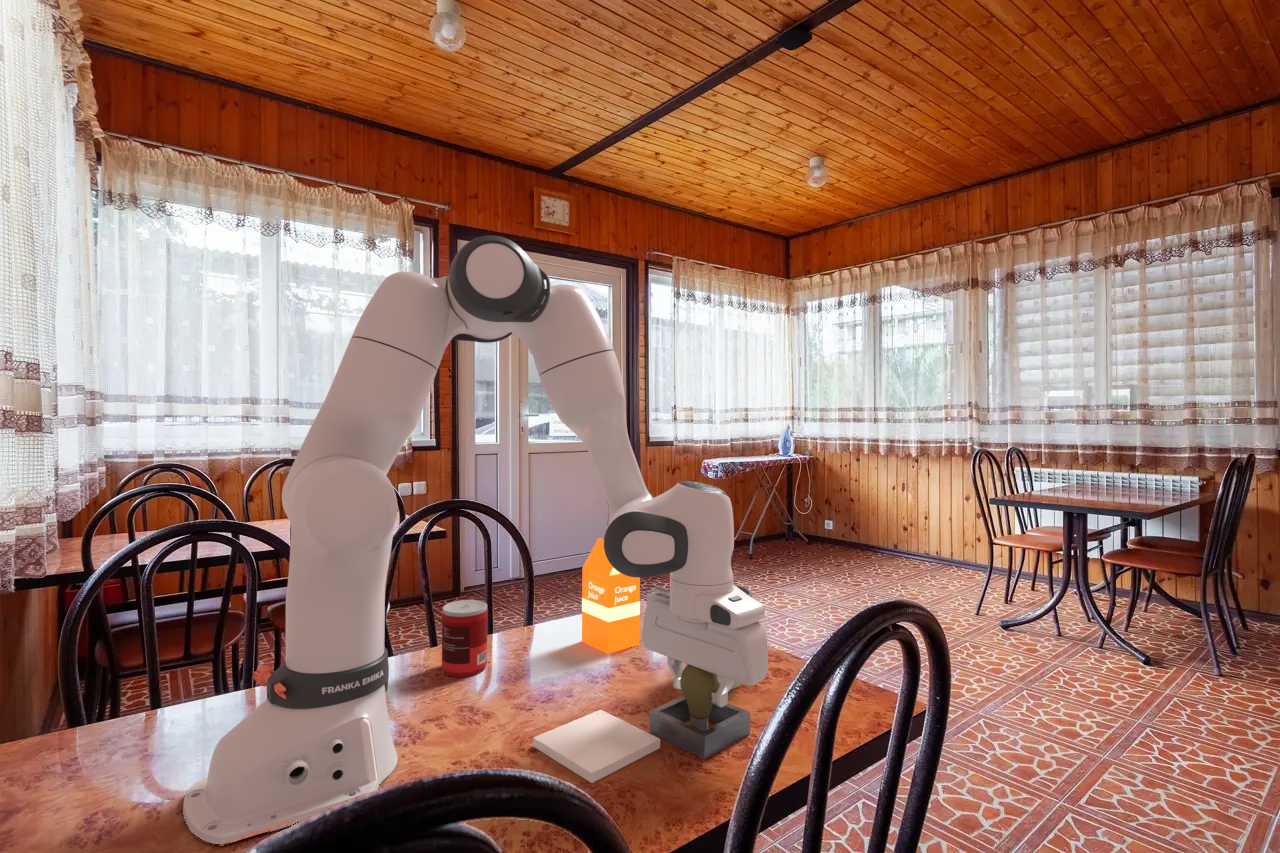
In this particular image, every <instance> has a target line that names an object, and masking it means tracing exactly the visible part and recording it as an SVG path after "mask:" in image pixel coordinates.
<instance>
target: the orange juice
mask: <svg viewBox="0 0 1280 853" xmlns="http://www.w3.org/2000/svg"><path fill="white" fill-rule="evenodd" d="M581 570H582V581H581V582H582V585H581V586H582V591H581V592H582V593H581V594H582V596H581V642H582V643H584V644H586V645H589V646H591V647H592V648H594V649H597V650H599V651H601V652H602V653H605V654H607V655H610V654H613V653H617V652H621V651H624V649H625V650H628V649H631V648H630V647H632V648H634V646H635V647H638V646H637V645H639V646H640V615H641V598H640V597H641V594H640V593H641V577H640V578H635V577H629V576H626V575H623V574H621V573H620V572H618V571H617V570H616V569H614V568H613V566H612V565H611V564H610V563H609V561H608V559H607V557H606V555H605V551H604V538H601V537H598V538H597V540H596V542H595V543H594V545H593V547H592V549H591V550H590V553H589V555H588V557H587V559H586V560H585V563H584V564H583V566H582V568H581ZM627 648H628V649H627Z"/></svg>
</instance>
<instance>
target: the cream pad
mask: <svg viewBox="0 0 1280 853" xmlns="http://www.w3.org/2000/svg"><path fill="white" fill-rule="evenodd" d="M532 738H533V739H532V741H533V742H532V747H533V748H535V749H536V750H538V751H540V752H542V753H543V754H545V755H546V756H548V757H549V758H551V759H552V760H554V761H556V762H557V763H558V764H560V765H562V766H563V767H565V768H567V769H568V770H570V771H572V772H574V773H575V774H576V775H578V776H580V777H581V778H583V779H584V780H586V781H588V782H589V783H591V784H593V783H596V782H597V781H599V780H601V779H604V778H605V777H607V776H609V775H611V774H613V773H615V772H616V771H618V770H621V769H622V768H624V767H626V766H628V765H630V764H632V763H634V762H636V761H638V760H640V759H642V758H643V757H646V756H647V755H649V754H651V753H654V752H655V751H657V750H659V749H660V748H661V738H660V737H658V736H656V735H654V734H652V733H650V732H647V731H646V730H643V729H641V728H639V727H638V726H635V725H633V724H631V723H629V722H627V721H625V720H623V719H622V718H619V717H617V716H615V715H612V714H611V713H608V712H606V711H604V710H602V709H599V710H596V711H594V712H591V713H588V714H586V715H585V716H582V717H579V718H577V719H574V720H572V721H569V722H567V723H565V724H563V725H559V726H557V727H555V728H553V729H551V730H548V731H545V732H543V733H541V734H538V735H536V736H534V737H532Z"/></svg>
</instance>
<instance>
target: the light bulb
mask: <svg viewBox="0 0 1280 853" xmlns="http://www.w3.org/2000/svg"><path fill="white" fill-rule="evenodd" d="M683 669H684V670H683V672H682V674H681V679H680V686H681V690H682V691H681V692H682V696H684V697H685V699H686V701H687V704H688V708H689V712H690V715H691V717H690V725H691V726H693V727H696V728H698V729H700V730H702V731H705V730H707V729H709V720H708V716H709V715H710V713H711V709H712V705H713V704H712V702H711V700H712V692H713V691H715V690H717V689H719V687H720V683H719V682H718V675H716V674H713V673H711V672H708V671H705V670H703V669H700V668H697V667H694V666H692V665H689V664H688V665H687V664H686V666H685V667H684V668H683Z"/></svg>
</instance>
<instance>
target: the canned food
mask: <svg viewBox="0 0 1280 853" xmlns="http://www.w3.org/2000/svg"><path fill="white" fill-rule="evenodd" d="M488 613H489V612H488V603H486V602H485V601H483V600H478V599H461V600H455V601H451V602H449V603H446V604H444V605H443V606H442V610H441V669H442V672H443V673H444V674H445V675H447V676H449V677H452V678H466V677H472V676H476V675H478V674H480V673H482V672H483V671H484V670H485V669H486V667H487V663H488V615H489V614H488Z"/></svg>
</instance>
